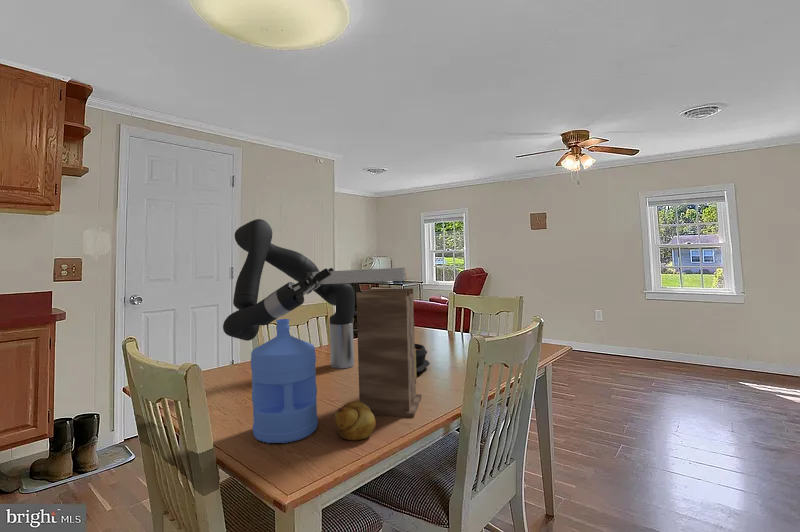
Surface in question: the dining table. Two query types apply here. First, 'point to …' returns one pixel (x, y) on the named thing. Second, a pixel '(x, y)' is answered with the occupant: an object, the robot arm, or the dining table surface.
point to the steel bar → (363, 276)
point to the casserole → (421, 358)
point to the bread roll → (355, 421)
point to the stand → (387, 351)
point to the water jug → (284, 388)
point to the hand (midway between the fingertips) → (330, 271)
